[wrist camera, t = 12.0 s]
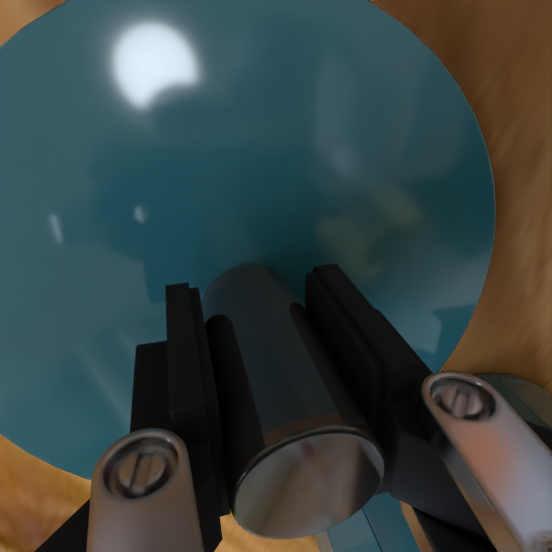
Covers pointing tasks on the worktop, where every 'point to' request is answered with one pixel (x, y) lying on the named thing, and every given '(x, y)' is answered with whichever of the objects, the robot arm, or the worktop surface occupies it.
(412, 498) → the robot arm
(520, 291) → the worktop surface
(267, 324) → the lid
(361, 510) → the pot
